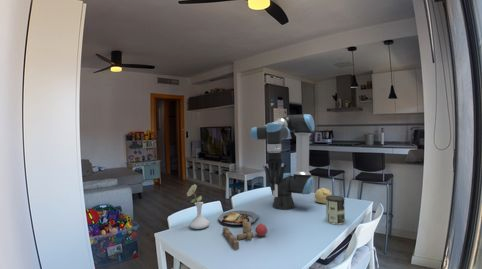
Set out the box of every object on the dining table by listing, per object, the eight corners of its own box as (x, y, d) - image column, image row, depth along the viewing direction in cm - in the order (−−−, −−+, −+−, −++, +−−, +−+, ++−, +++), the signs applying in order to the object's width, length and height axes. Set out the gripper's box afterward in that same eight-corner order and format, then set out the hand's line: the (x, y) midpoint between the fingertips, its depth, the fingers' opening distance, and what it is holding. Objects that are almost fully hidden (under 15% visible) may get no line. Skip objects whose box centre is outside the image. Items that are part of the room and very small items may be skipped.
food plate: (250, 229, 140) (250, 223, 140) (212, 225, 148) (212, 219, 148) (262, 216, 163) (262, 210, 163) (229, 213, 171) (228, 207, 171)
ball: (261, 219, 135) (265, 229, 136) (251, 226, 133) (255, 235, 134) (266, 224, 129) (270, 234, 130) (256, 230, 127) (261, 240, 128)
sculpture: (331, 205, 179) (330, 190, 179) (313, 203, 184) (313, 189, 184) (332, 201, 189) (332, 186, 189) (316, 199, 194) (316, 185, 194)
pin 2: (246, 239, 128) (245, 222, 128) (250, 238, 129) (250, 221, 128) (247, 241, 126) (247, 224, 125) (252, 240, 126) (251, 223, 126)
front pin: (252, 236, 132) (236, 238, 129) (252, 231, 132) (236, 234, 129) (253, 237, 129) (238, 240, 126) (253, 233, 129) (238, 236, 126)
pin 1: (242, 235, 133) (242, 219, 132) (246, 234, 133) (246, 218, 133) (244, 237, 130) (243, 220, 130) (248, 236, 131) (248, 220, 131)
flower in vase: (201, 221, 154) (200, 180, 153) (213, 226, 146) (212, 183, 145) (183, 228, 144) (181, 184, 144) (194, 233, 136) (193, 187, 136)
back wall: (222, 233, 135) (222, 227, 135) (226, 232, 136) (226, 226, 136) (234, 250, 117) (234, 242, 117) (239, 249, 117) (238, 241, 117)
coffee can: (343, 218, 153) (342, 195, 153) (346, 225, 143) (346, 200, 143) (325, 217, 155) (324, 194, 155) (327, 224, 145) (327, 199, 145)
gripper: (266, 153, 128) (267, 199, 129) (288, 151, 133) (289, 196, 133) (260, 152, 135) (261, 196, 136) (281, 150, 140) (282, 193, 140)
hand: (275, 196), depth 135 cm, fingers closed
